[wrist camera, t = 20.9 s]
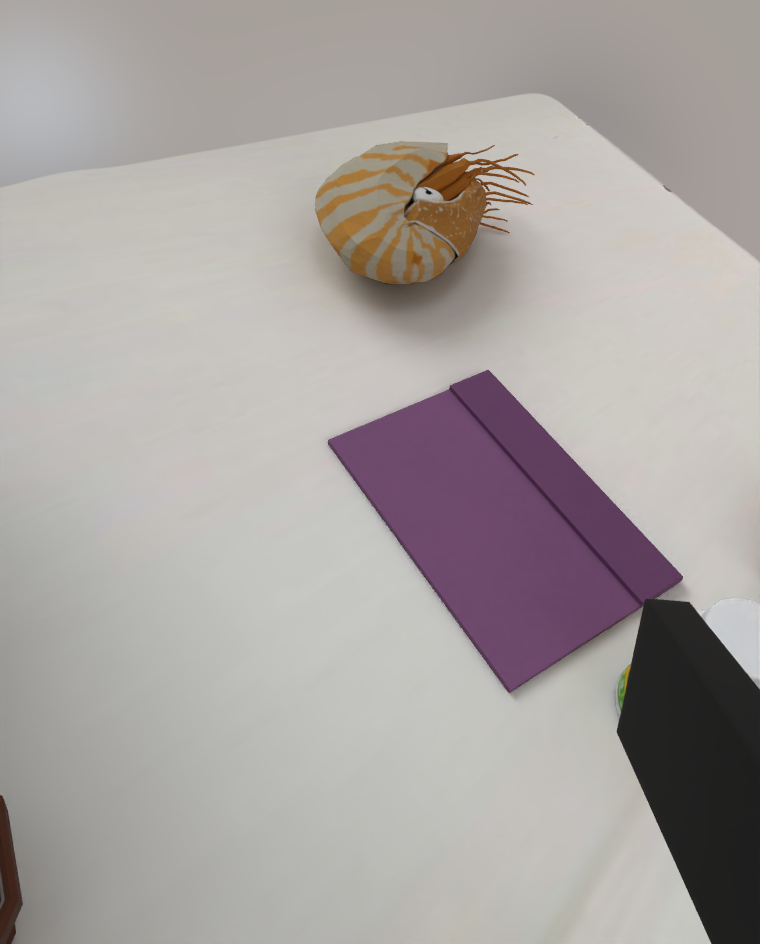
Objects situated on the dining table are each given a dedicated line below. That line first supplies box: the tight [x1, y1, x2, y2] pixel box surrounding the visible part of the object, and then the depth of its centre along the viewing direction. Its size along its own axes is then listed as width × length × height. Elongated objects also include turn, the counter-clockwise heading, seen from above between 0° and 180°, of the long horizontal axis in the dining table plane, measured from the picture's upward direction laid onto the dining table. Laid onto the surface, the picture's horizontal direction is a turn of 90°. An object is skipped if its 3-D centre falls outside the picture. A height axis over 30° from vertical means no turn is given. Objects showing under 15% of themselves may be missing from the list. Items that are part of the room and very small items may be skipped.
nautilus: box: [315, 141, 534, 284], centre depth 60 cm, size 8×22×15 cm
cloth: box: [328, 370, 683, 692], centre depth 47 cm, size 20×14×1 cm
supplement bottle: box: [615, 598, 760, 717], centre depth 36 cm, size 5×5×10 cm
